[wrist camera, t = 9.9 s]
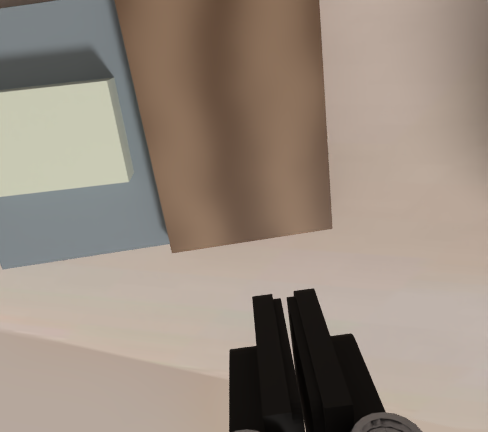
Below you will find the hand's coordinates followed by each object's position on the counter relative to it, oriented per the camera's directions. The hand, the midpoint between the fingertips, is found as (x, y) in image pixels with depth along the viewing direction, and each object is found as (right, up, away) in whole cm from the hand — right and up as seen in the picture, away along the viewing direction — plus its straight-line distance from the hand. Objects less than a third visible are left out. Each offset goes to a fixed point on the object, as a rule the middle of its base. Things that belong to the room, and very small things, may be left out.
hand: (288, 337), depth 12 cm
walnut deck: (-2, +10, +17) cm, 19 cm away
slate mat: (-13, +8, +17) cm, 23 cm away
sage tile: (-13, +8, +15) cm, 22 cm away
